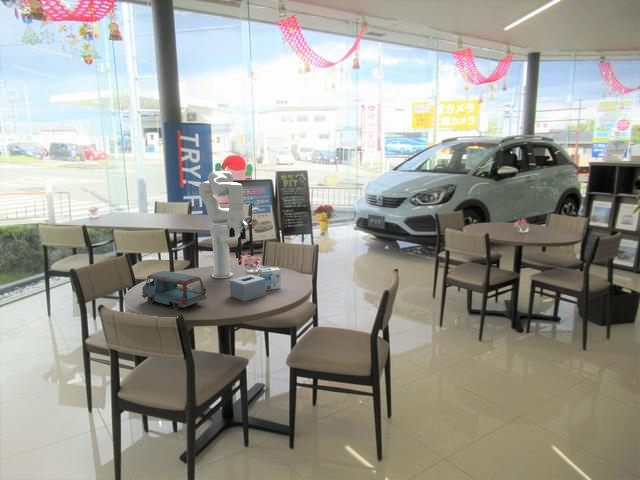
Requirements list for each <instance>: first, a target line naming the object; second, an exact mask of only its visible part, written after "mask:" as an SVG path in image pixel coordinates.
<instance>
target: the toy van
mask: <svg viewBox="0 0 640 480" xmlns="http://www.w3.org/2000/svg"><path fill="white" fill-rule="evenodd" d="M151 280H152V281H151ZM195 282H199V283H200V284H199V285H200V290H199V289H197V290H196V289H195V288H192V289H190V288H188V285H190V284H192V283H195ZM178 285H179V286H178ZM180 285H181V286H182V287H181V286H180ZM141 289H142V295H141V298H143V299H144V300H145V299H146V298H147V301H148V302H149V304H151V305H153V304H155V303H158V304H159V303H160V304H164V305H172V307H173V309H174V310H175V311H179V310H181V309H182V308H187V307H189V306H192V305H194V304H197V303H199V302H202V301H204V300H206V299H208V296H207V295H206V292H207V289H206V288H205V287H204V284H203V281H202V278H201V277H200V276H195V275H189V274H185V273H179V272H174V271H167V270H161V271H156V272H153V273H151V274H149V275H148V276H147V277H146V283H145V284H144V285H143V286H142V288H141Z"/></svg>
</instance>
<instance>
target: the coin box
mask: <svg viewBox="0 0 640 480" xmlns="http://www.w3.org/2000/svg"><path fill="white" fill-rule="evenodd" d="M266 292H267V290H266V286H265V278H262V277H260V276H257V275H255V274H247V275H243V276H240V277H235V278H231V279H229V293H230V295H229V296H230V297H231V298H234V299H237V300H240V301H242V302H248V301H250V300H255V299H257V298H261V297H264V296H266V294H267V293H266Z"/></svg>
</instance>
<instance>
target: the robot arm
mask: <svg viewBox="0 0 640 480" xmlns="http://www.w3.org/2000/svg"><path fill="white" fill-rule="evenodd" d="M243 190H244V187H243V185H242V184H241V183H239V182H236V181H235V182H234V176H233V173H232V172H230V171H229V170H217V171H211V172H210V173H209V174H208V176H207V181H202V182H201V183H199V186H198V193H199V197H200V199H201V201H202V202H203V203H204V206H205V209H206V212H207V213H206V214H207V216H208V219H209V222H210V224H211V225H213V226H212V227H211V228H210V233H209V234H210V237H211V242H212V252H213V253H212V254H213V255H212V256H213V268H211V271H212V272H213V273H211V277H212V278H214V279H227V278H232V277H233V276H234V272H232V271H231V263H230V262H231V260H230V247H229V245H228V244H227V242H226V241H227V240H235V239H238V238H240V239H239V240H241V241H243V240H246V238H247V235H246V234H247V233H246V232H247V230H248V226H249V225H248V223H247V222H246V216H245V210H244V192H243ZM214 196H216V197H217V198H222V197H228V207H227V208H225V207H224V208H222V207H221V204H220V203H221V202H220V201H219V200H218V199H217V198H216V197H214Z"/></svg>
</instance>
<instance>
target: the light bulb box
mask: <svg viewBox="0 0 640 480" xmlns="http://www.w3.org/2000/svg"><path fill="white" fill-rule="evenodd" d="M259 277H262V278H265V286H266V291H268V290H270V291H271V290H276V289H281V284H282V283H281V279H282V278H281V269H280V268H279V267H277V266H274V267H266V268H265V267H264V268H259Z"/></svg>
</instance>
